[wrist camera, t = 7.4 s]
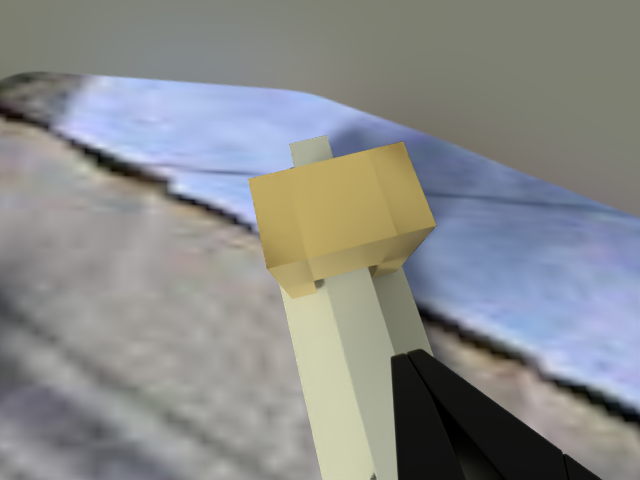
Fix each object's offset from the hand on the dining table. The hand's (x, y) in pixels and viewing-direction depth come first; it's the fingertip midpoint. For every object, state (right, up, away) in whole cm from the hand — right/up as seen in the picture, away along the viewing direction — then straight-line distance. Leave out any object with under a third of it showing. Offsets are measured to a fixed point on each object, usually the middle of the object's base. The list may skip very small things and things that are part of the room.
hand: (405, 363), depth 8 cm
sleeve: (-1, +2, +13) cm, 13 cm away
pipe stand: (0, -2, +13) cm, 13 cm away
